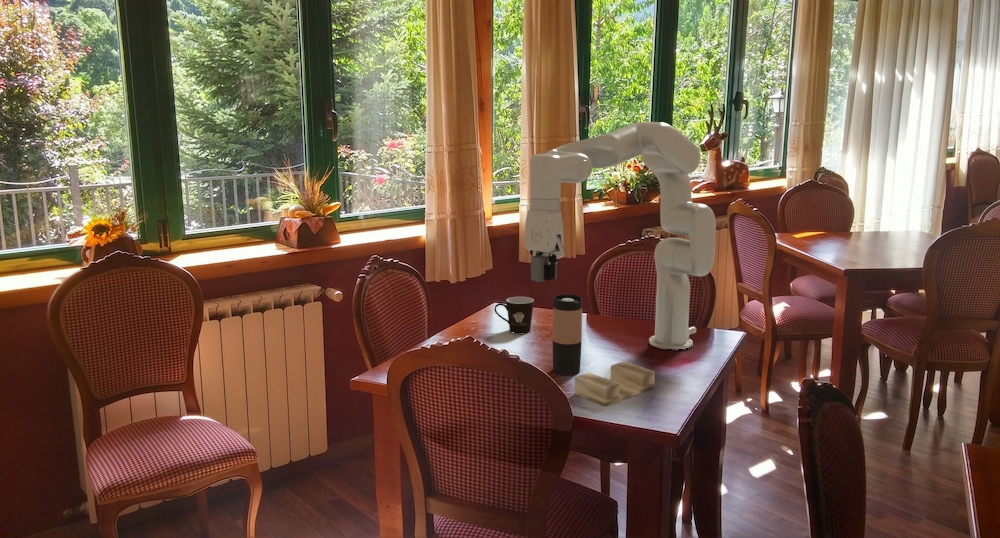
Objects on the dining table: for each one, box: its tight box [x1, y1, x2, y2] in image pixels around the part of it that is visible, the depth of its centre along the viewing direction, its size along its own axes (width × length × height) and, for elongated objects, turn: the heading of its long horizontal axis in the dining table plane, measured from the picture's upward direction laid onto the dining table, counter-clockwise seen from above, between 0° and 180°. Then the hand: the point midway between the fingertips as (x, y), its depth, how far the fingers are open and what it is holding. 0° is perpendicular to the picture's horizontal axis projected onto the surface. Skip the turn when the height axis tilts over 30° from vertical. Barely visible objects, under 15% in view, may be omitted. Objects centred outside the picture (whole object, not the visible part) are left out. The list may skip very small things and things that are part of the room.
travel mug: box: [552, 294, 583, 377], centre depth 199 cm, size 8×8×20 cm
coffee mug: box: [493, 296, 535, 334], centre depth 237 cm, size 12×9×10 cm
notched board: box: [574, 361, 656, 407], centre depth 186 cm, size 18×10×4 cm, turn 129°
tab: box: [530, 253, 558, 283], centre depth 188 cm, size 6×3×6 cm, turn 129°
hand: (544, 277), depth 189 cm, fingers closed on tab, 3 cm apart
